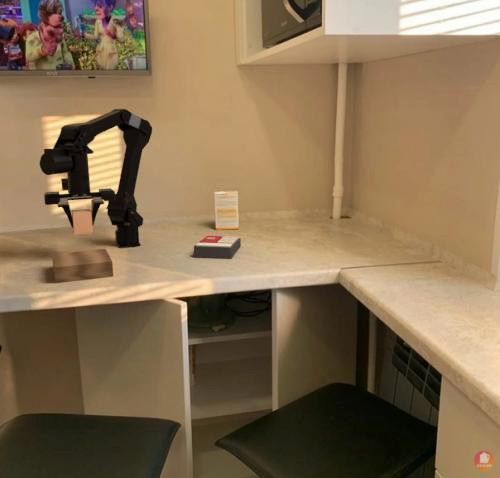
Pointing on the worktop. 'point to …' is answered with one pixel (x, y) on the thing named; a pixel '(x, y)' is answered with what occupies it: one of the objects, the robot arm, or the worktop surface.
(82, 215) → the terracotta block
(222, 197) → the supplement box
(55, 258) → the walnut base
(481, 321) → the worktop surface
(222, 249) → the red white black box
